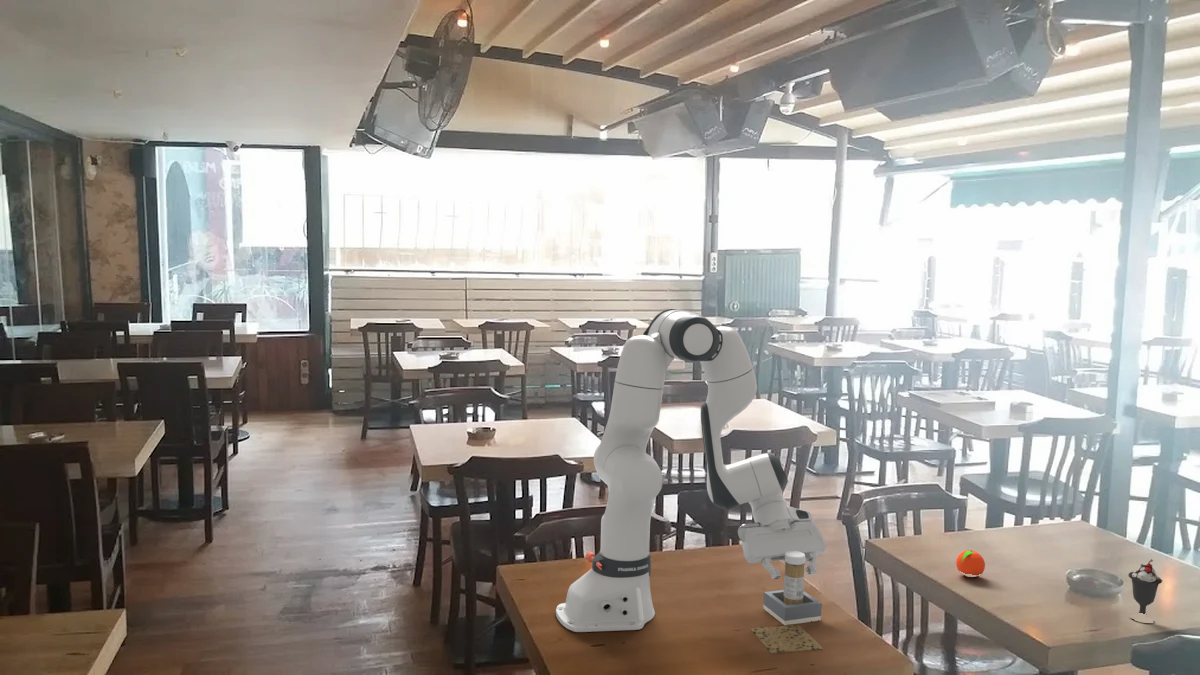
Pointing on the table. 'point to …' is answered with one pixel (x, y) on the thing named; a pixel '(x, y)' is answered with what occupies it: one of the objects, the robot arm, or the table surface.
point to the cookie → (786, 639)
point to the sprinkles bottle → (794, 577)
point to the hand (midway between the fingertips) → (794, 575)
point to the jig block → (792, 608)
